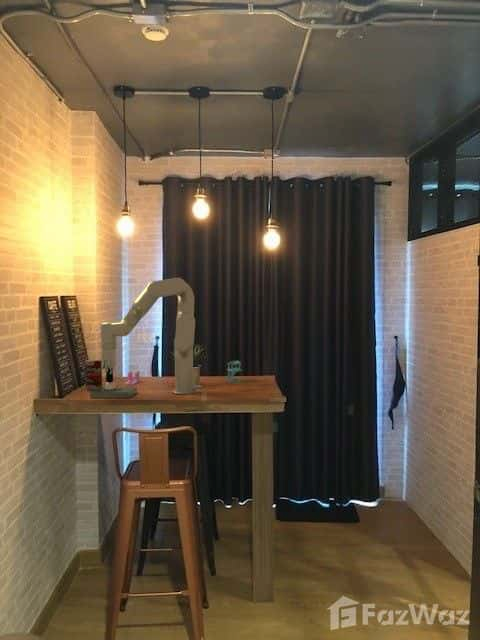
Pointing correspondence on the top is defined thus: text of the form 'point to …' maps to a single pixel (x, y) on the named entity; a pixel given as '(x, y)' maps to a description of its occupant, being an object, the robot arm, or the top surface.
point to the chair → (233, 371)
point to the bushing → (109, 386)
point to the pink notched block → (130, 381)
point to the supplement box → (93, 374)
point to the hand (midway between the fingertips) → (109, 381)
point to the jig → (113, 392)
